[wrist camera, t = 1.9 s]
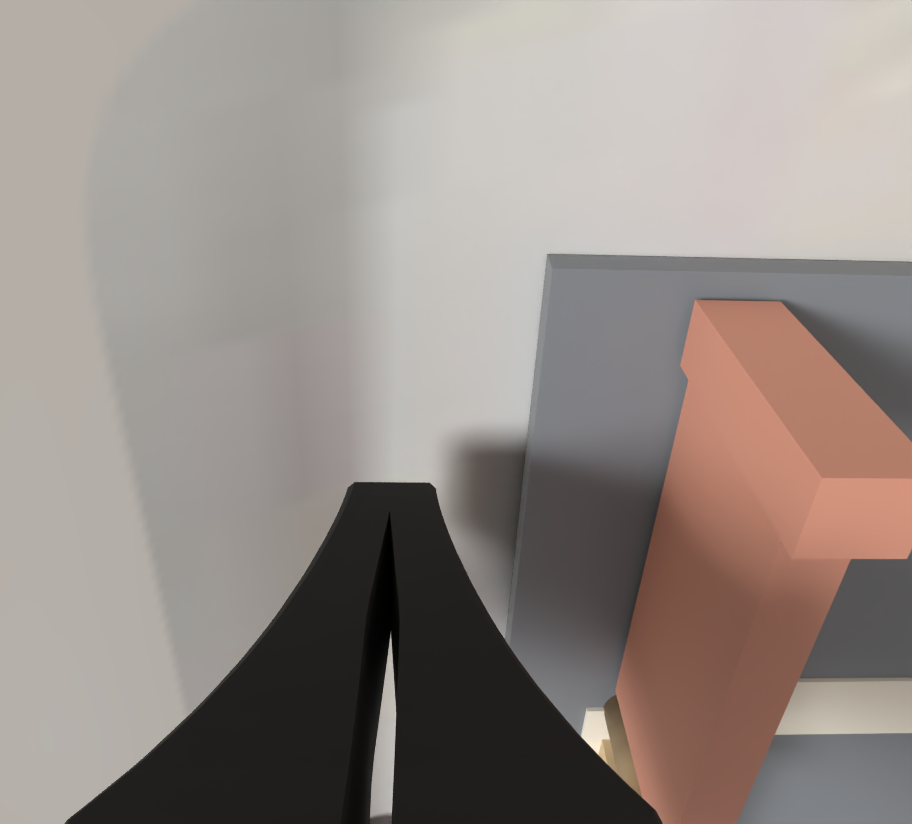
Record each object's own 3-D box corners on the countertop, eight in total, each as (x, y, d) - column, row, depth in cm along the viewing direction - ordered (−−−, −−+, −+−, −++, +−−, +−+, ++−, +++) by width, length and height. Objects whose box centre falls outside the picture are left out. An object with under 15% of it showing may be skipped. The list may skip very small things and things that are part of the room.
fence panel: (666, 690, 18) (736, 908, 14) (606, 690, 17) (659, 909, 14) (780, 300, 12) (946, 478, 8) (695, 300, 12) (822, 478, 8)
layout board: (960, 814, 22) (974, 838, 22) (485, 822, 22) (487, 848, 21) (1347, 271, 13) (1390, 288, 13) (547, 254, 13) (553, 270, 12)
